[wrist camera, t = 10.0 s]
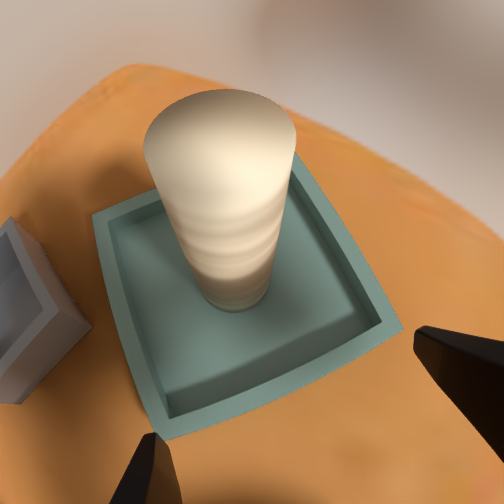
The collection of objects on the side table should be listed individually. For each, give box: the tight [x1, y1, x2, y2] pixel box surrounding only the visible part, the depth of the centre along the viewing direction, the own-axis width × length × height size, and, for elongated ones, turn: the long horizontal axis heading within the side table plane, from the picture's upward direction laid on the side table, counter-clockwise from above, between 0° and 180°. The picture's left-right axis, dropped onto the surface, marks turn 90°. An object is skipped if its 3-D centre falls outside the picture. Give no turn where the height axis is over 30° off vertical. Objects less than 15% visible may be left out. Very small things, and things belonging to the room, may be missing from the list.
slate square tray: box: [0, 217, 93, 404], centre depth 15 cm, size 9×9×4 cm
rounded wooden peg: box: [143, 89, 296, 313], centre depth 12 cm, size 4×4×11 cm
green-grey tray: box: [92, 151, 404, 441], centre depth 17 cm, size 14×14×2 cm
